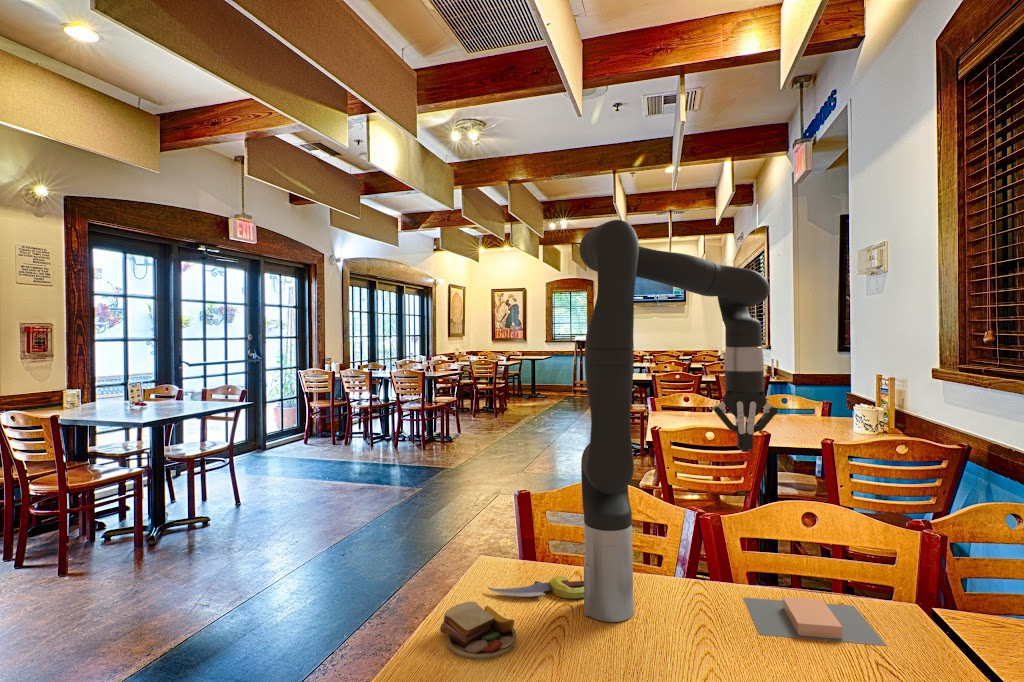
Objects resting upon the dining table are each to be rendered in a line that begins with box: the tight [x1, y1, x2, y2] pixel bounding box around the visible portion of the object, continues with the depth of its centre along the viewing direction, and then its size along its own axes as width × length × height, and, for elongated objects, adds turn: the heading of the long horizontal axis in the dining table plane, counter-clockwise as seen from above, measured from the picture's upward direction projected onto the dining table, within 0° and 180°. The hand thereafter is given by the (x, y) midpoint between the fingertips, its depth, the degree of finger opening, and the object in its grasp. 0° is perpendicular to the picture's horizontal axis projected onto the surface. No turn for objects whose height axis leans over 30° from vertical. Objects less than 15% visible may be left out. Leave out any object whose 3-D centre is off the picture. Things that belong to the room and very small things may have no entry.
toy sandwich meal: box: [439, 601, 518, 661], centre depth 98 cm, size 12×14×5 cm
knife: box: [487, 576, 584, 599], centre depth 116 cm, size 8×3×25 cm
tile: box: [781, 596, 843, 639], centre depth 100 cm, size 7×2×10 cm
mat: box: [742, 597, 888, 647], centre depth 101 cm, size 20×14×1 cm
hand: (745, 451), depth 115 cm, fingers closed
